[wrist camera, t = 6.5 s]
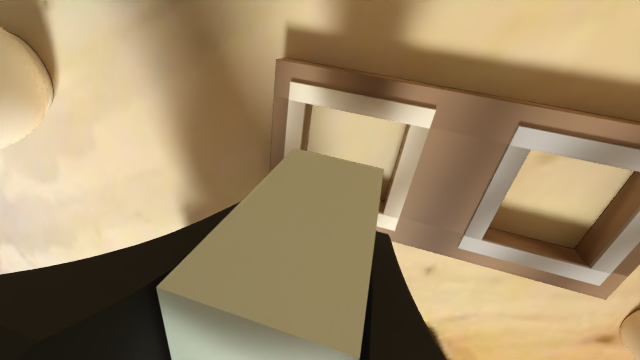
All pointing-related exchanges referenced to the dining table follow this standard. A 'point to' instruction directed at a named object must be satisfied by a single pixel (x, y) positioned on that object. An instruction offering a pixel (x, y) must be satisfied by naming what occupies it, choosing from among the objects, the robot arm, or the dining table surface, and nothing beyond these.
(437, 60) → the dining table surface
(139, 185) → the dining table surface
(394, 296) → the robot arm
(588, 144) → the socket board
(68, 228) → the dining table surface
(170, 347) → the peg
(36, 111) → the lidded jar
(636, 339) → the candle
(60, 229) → the dining table surface
